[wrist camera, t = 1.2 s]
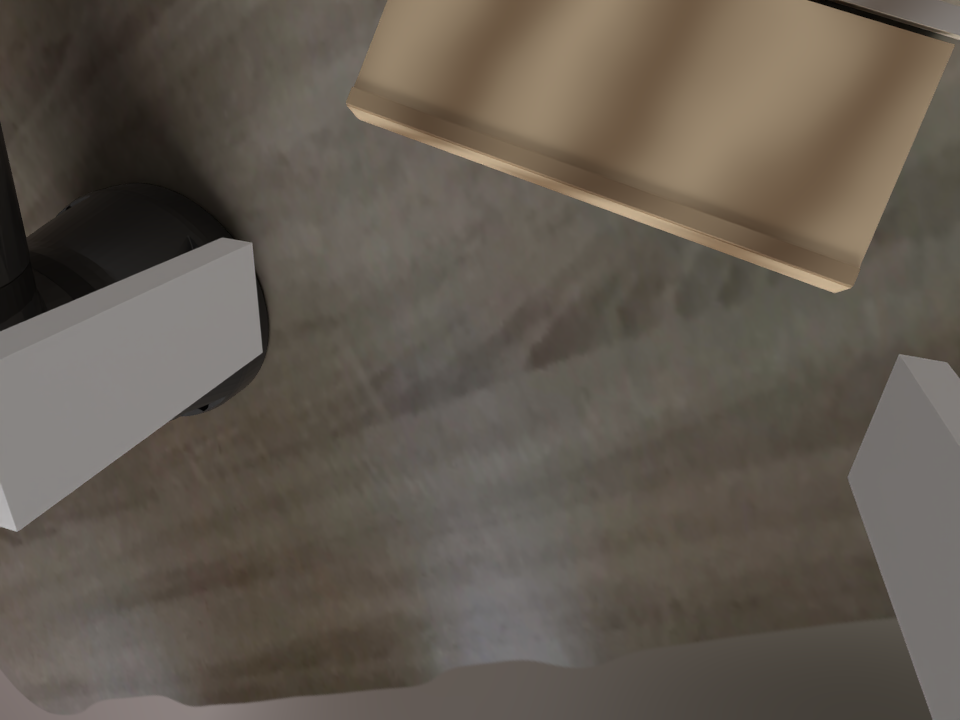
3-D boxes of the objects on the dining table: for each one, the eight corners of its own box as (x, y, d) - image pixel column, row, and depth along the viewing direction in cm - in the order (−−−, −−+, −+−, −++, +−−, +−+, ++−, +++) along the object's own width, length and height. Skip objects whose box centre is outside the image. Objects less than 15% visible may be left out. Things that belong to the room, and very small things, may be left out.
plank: (358, 119, 28) (345, 103, 27) (439, -88, 28) (431, -117, 26) (834, 292, 25) (852, 287, 24) (932, 64, 25) (957, 42, 23)
